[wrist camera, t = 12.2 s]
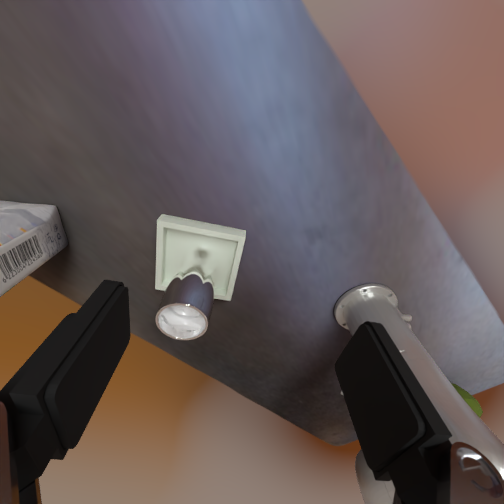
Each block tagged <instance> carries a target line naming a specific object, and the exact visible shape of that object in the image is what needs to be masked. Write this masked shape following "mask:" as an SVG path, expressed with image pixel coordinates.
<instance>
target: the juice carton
mask: <svg viewBox="0 0 504 504" xmlns="http://www.w3.org/2000/svg"><path fill="white" fill-rule="evenodd" d="M67 245H68V239H67V236H66V233H65V231H64V228H63V225H62V222H61V218H60V215H59V212H58V209H57V207H56V206H54V205H46V204H27V203H19V202H11V201H0V297H1V296H2V295H3V294H5V293H6V292H7V291H8V290H10V289H11V288H12V287H14V286H15V285H16V284H18V283H19V282H20V281H21V280H23V279H24V278H26V277H27V276H28V275H30V274H31V273H32V272H34V271H35V270H36V269H38V268H39V267H40V266H41V265H43V264H44V263H45V262H47V261H48V260H49V259H51V258H52V257H53V256H55V255H56V254H57V253H58V252H60V251H61V250H62V249H64V248H65V247H66V246H67Z"/></svg>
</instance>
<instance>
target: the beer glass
mask: <svg viewBox="0 0 504 504" xmlns="http://www.w3.org/2000/svg"><path fill="white" fill-rule="evenodd" d="M217 265H218V256H217V254H216V252H215V251H214V250H213V249H212V248H210V247H208V246H205V245H194V246H192V247H190V248H189V249H188V250H187V251H186V252H185V255H184V262H183V266H182V267H181V268H180V270H179V271H178V272H177V273H176V275H175V276H174V277H173V279H172V280H171V281H170V283H169V284H168V286H167V288H166V290H165V292H164V295H163V297H162V300H161V303H160V306H159V309H158V312H157V314H156V324H157V326H158V328H159V329H160V331H161V332H163V333H164V334H165V335H167V336H169V337H171V338H174V339H178V340H192V339H196V338H198V337H200V336H202V335H203V334H204V333H205V332H206V330H207V328H208V323H209V320H210V316H211V313H212V309H213V304H214V277H213V274H214V271H215V269H216V267H217Z"/></svg>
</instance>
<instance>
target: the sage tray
mask: <svg viewBox="0 0 504 504" xmlns="http://www.w3.org/2000/svg"><path fill="white" fill-rule="evenodd" d="M245 238H246V230H241V229H236V228H230V227H225V226H220V225H215V224H210V223H205V222H200V221H195V220H190V219H185V218H180V217H175V216H170V215H164V214H162V215H161V216H160V217H159V218H158V220H157V245H156V283H155V289H158V290H164V291H165V290H166V288H167V286H168V284H169V283H170V281H171V280H172V279H173V277H174V276H175V275H176V273H177V272H178V271H179V270H180V268H181V267H182V266H183V262H184V255H185V252H186V251H187V250H188V249H189V248H190V247H192V246H194V245H205V246H208V247H210V248H212V249H213V250H214V251H215V252H216V254H217V256H218V265H217V267H216V269H215V271H214V274H213V277H214V298H215V299H221V300H228V301H231V297H232V293H233V288H234V284H235V280H236V276H237V272H238V267H239V263H240V259H241V255H242V251H243V247H244V242H245Z"/></svg>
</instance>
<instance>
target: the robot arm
mask: <svg viewBox="0 0 504 504" xmlns="http://www.w3.org/2000/svg"><path fill="white" fill-rule="evenodd" d="M397 306H398V301H397V297H396V296H395V294H394V293H393V292H392V290H391V289H389V288H388V287H386V286H383V285H380V284H364V285H361V286H357V287H355V288H353V289H351V290H349V291H347V292H346V293H345V294H344V295H342V296H341V297H340V299H339V300H338V301H337V303H336V305H335V309H334V314H335V318H336V320H337V322H338V323H339V324H340V325H341V326H342V327H344V328H345V329H348V330H350V333H351V335H352V338H351V340H350V341H349V343H348V344H347V346H346V347H345V349H344V350H343V352H342V354H341V355H340V357H339V358H338V360H337V361H336V363H335V371H336V374H337V377H338V380H339V383H340V386H341V389H342V392H343V395H344V398H345V401H346V404H347V407H348V410H349V413H350V416H351V419H352V422H353V425H354V428H355V431H356V434H357V437H358V440H359V443H360V446H361V450H360V451H359V453H358V454H357V456H356V461H355V470H356V476H357V481H358V484H359V487H360V491H361V494H362V496H363V500H364V502H365V504H504V444H503V443H502V441H501V440H500V439H499V438H498V437H497V436H496V435H495V434H494V433H493V432H492V431H491V430H490V429H489V428H488V426H487V425H486V424H485V423H484V422H483V421H482V420H481V419H480V418H479V417H478V416H477V414H476V413H475V412H474V411H473V410H472V409H471V408H470V406H469V405H468V404H467V403H466V402H465V401H464V399H463V398H462V397H461V396H460V394H459V393H458V392H457V391H456V389H455V388H454V387H453V385H452V384H451V383H450V382H449V380H448V379H447V378H446V376H445V375H444V374H443V372H442V371H441V370H440V368H439V367H438V366H437V364H436V363H435V362H434V360H433V359H432V358H431V356H430V355H429V354H428V352H427V351H426V350H425V348H424V347H423V346H422V344H421V343H420V341H419V340H418V339H417V337H416V336H415V335H414V333H413V332H412V331H411V325H410V324H409V323H406V322H405V321H409V322H410V321H411V320H412V317H411V315H408V314H402V313H401V312H400V311H399V310H398V308H397ZM129 340H130V317H129V296H128V288H127V287H124V284H123V283H122V282H117V281H111V280H104V281H103V282H102V283H101V284H100V285H99V287H98V288H97V289H96V290H95V291H94V293H93V294H92V295H91V296H90V297H89V299H88V300H87V301H86V302H85V303H84V304H83V306H82V307H81V308H80V309H79V310H78V312H77V313H71V314H69V315H67V316H66V317H65V318H64V319H63V320H62V321H61V322H60V324H59V325H58V326H57V327H56V328H55V329H54V331H52V333H51V334H50V335H49V336H48V337H47V339H45V341H44V342H43V343H42V344H41V345H40V346H39V347H38V349H37V350H36V351H35V352H34V353H33V354H32V355H31V357H30V358H29V359H28V360H27V361H26V362H25V364H24V365H23V366H22V367H21V368H20V369H19V370H18V371H17V373H16V374H15V375H14V376H13V377H12V378H11V379H10V381H9V382H8V383H7V384H6V385H5V386H4V387H3V389H2V390H1V391H0V504H42V501H41V493H40V485H39V477H40V476H41V475H42V474H43V472H44V470H45V468H46V467H47V465H48V463H49V461H50V459H59V460H63V459H64V457H65V455H66V453H67V451H68V449H73V448H74V447H75V446H76V445H77V444H78V442H79V440H80V438H81V436H82V434H83V432H84V430H85V428H86V426H87V424H88V422H89V420H90V418H91V416H92V414H93V412H94V410H95V408H96V406H97V405H98V403H99V401H100V398H101V397H102V394H103V393H104V391H105V389H106V387H107V385H108V383H109V381H110V379H111V377H112V375H113V373H114V371H115V369H116V367H117V365H118V363H119V361H120V359H121V357H122V355H123V353H124V351H125V349H126V347H127V345H128V343H129Z"/></svg>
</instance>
